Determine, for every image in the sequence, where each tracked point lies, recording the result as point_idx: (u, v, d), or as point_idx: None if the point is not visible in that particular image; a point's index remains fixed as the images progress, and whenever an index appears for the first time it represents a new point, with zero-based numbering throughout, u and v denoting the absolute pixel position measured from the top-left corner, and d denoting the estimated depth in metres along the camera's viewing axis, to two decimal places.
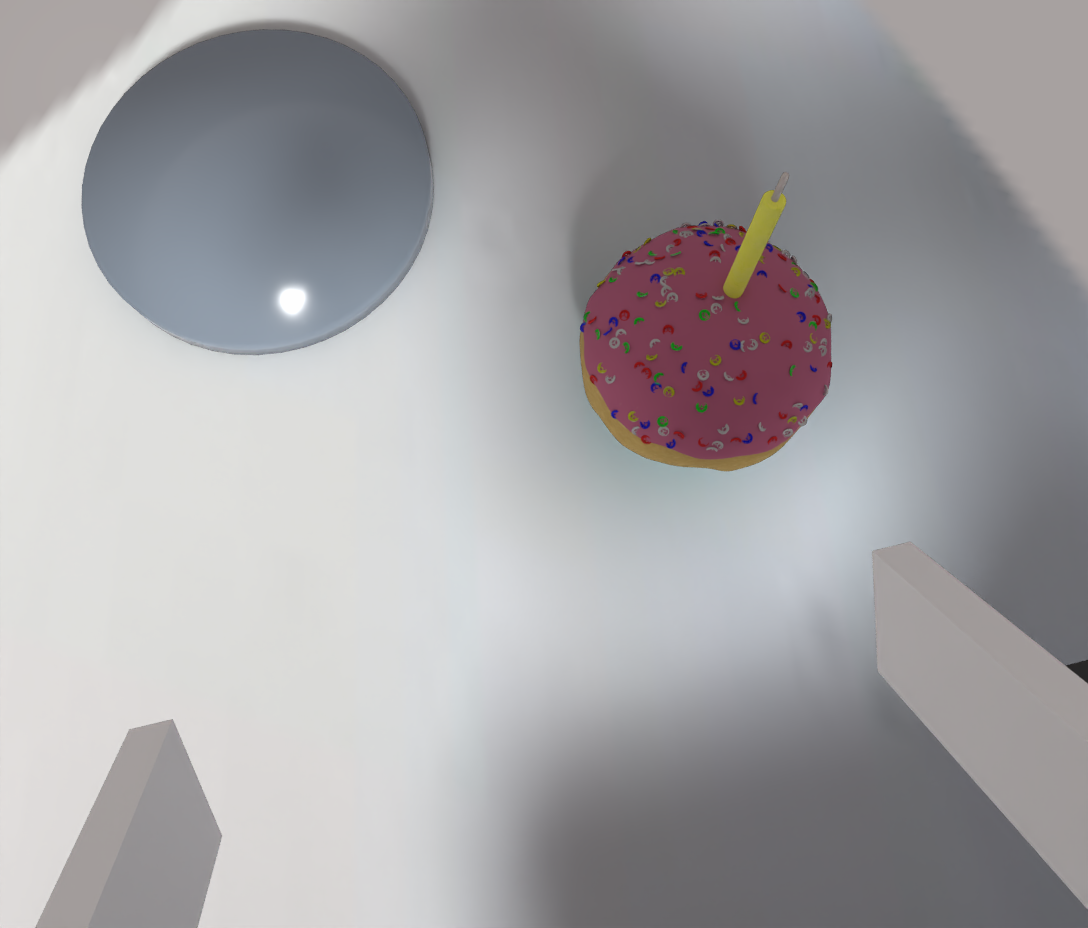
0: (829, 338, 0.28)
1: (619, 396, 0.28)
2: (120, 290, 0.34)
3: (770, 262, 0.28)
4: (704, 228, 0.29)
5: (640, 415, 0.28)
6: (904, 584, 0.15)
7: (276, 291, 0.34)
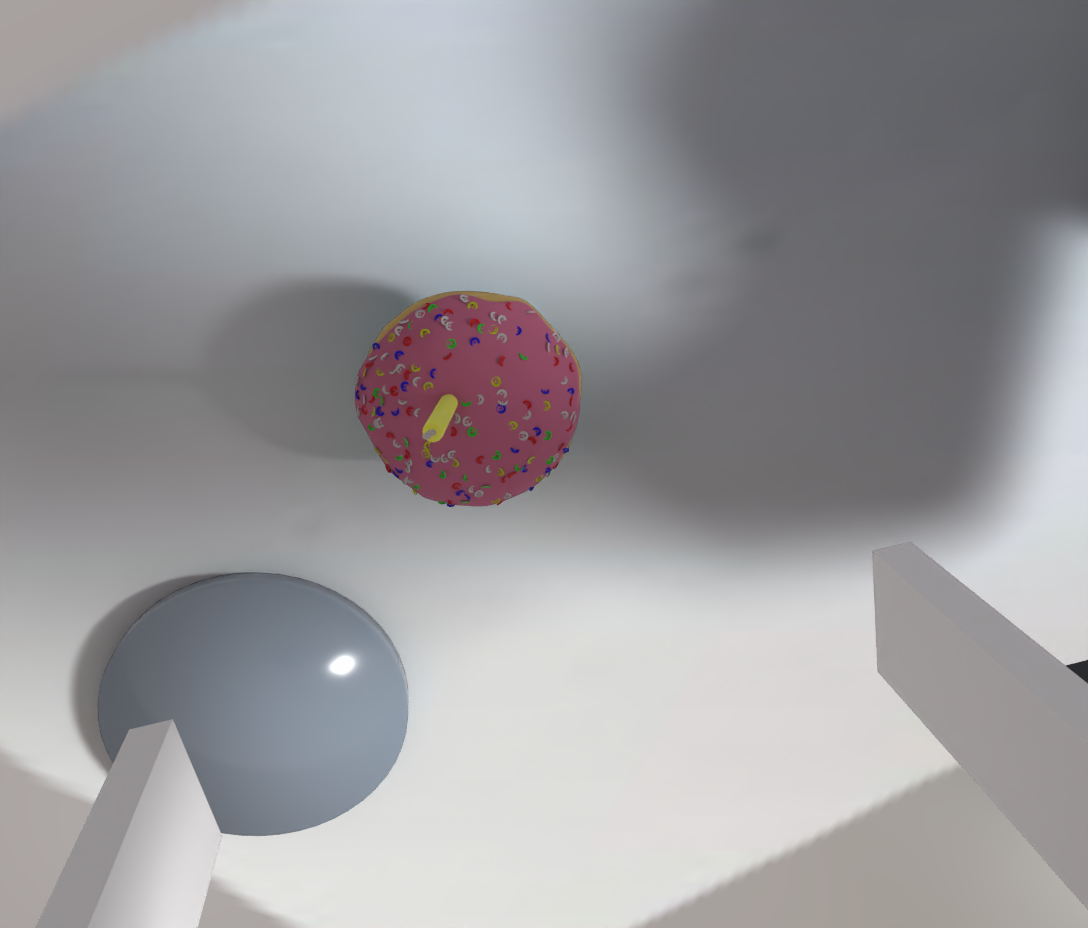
0: (485, 304, 0.31)
1: (521, 488, 0.33)
2: (355, 802, 0.43)
3: (419, 359, 0.30)
4: (370, 403, 0.32)
5: (540, 474, 0.33)
6: (904, 584, 0.15)
7: (363, 698, 0.41)
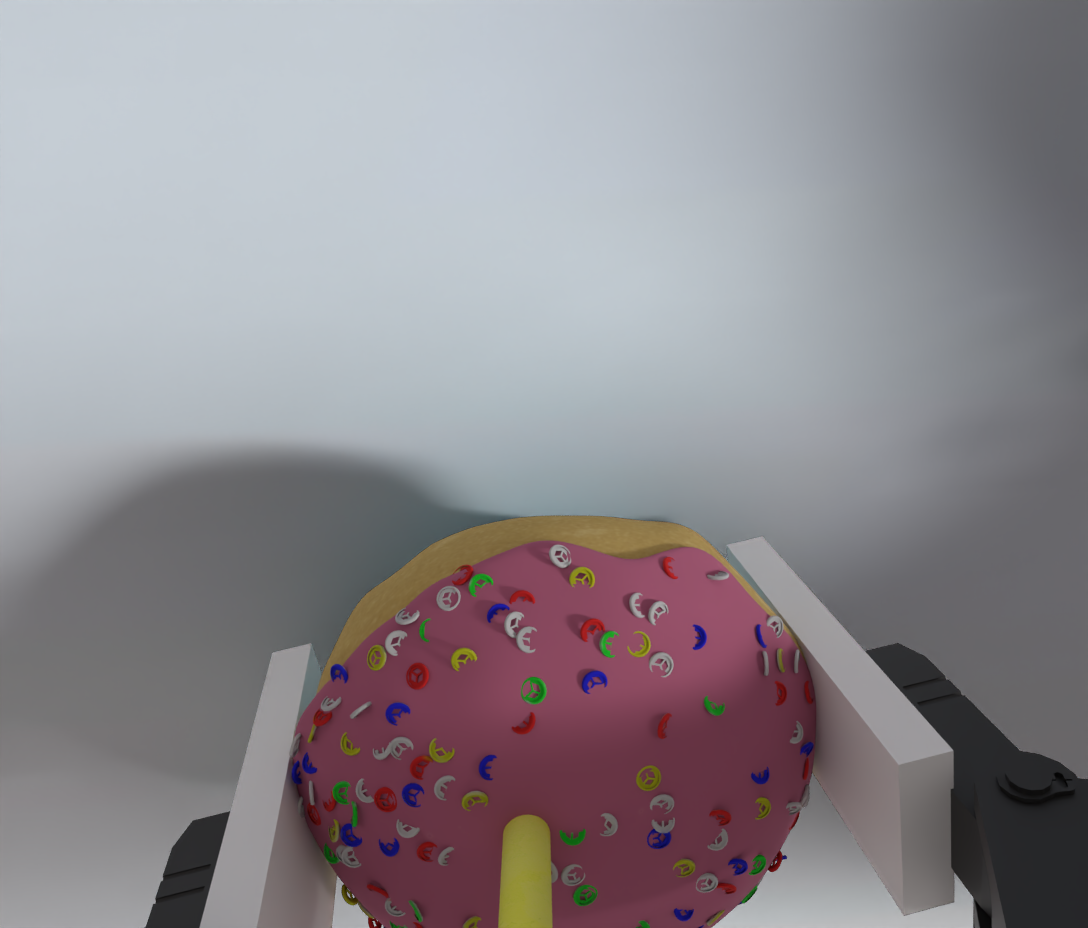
0: (614, 571, 0.12)
1: None
2: None
3: (448, 730, 0.12)
4: (328, 811, 0.13)
5: None
6: (747, 575, 0.16)
7: None
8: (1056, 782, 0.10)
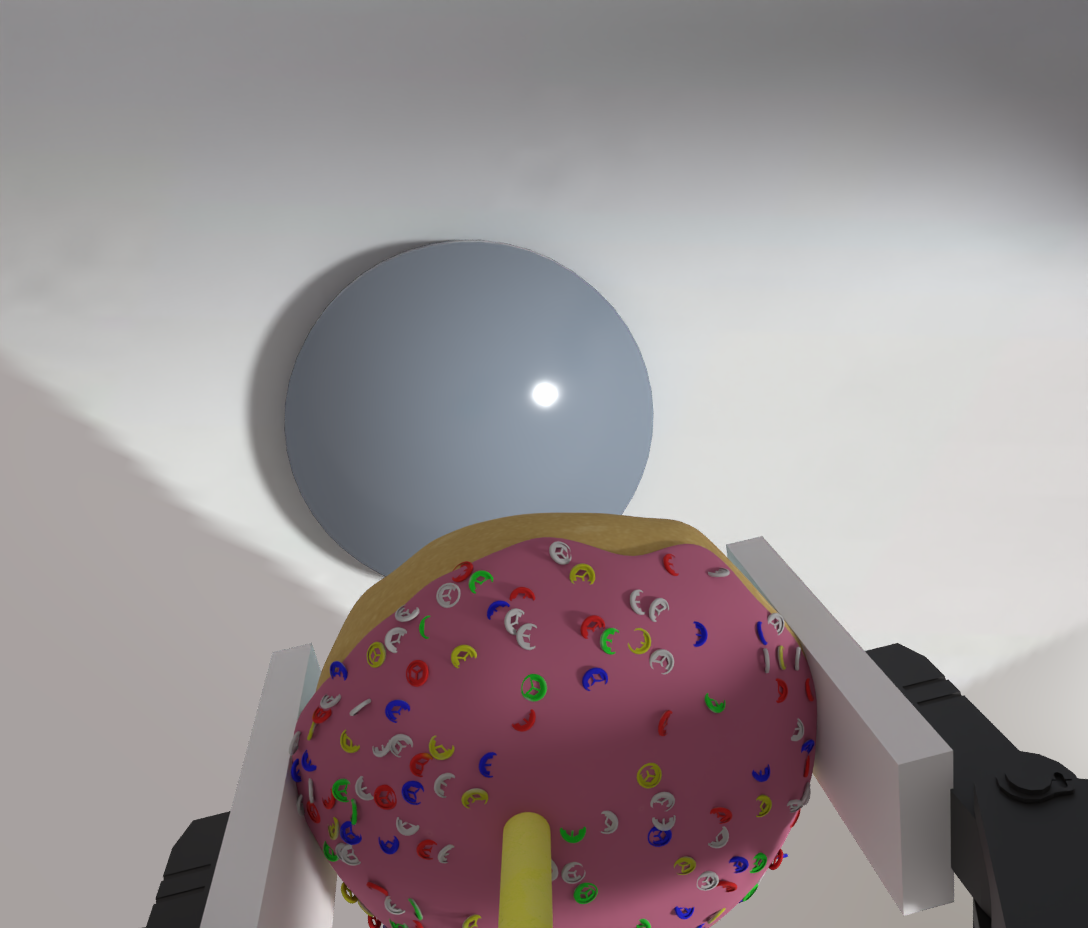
0: (615, 567, 0.12)
1: None
2: None
3: (449, 727, 0.12)
4: (328, 808, 0.13)
5: None
6: (746, 575, 0.16)
7: (601, 408, 0.33)
8: (1055, 782, 0.10)
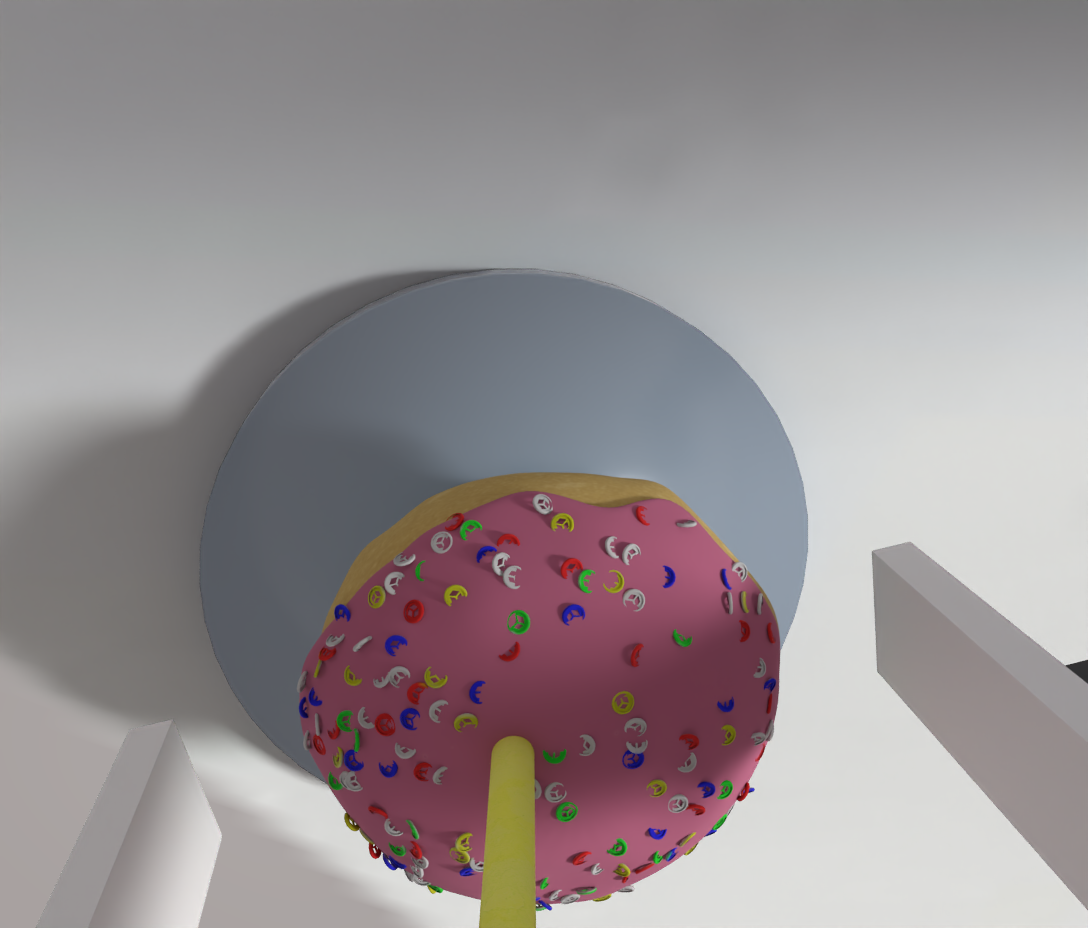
0: (592, 517, 0.14)
1: None
2: None
3: (442, 659, 0.13)
4: (332, 739, 0.14)
5: None
6: (903, 584, 0.15)
7: (726, 544, 0.20)
8: None
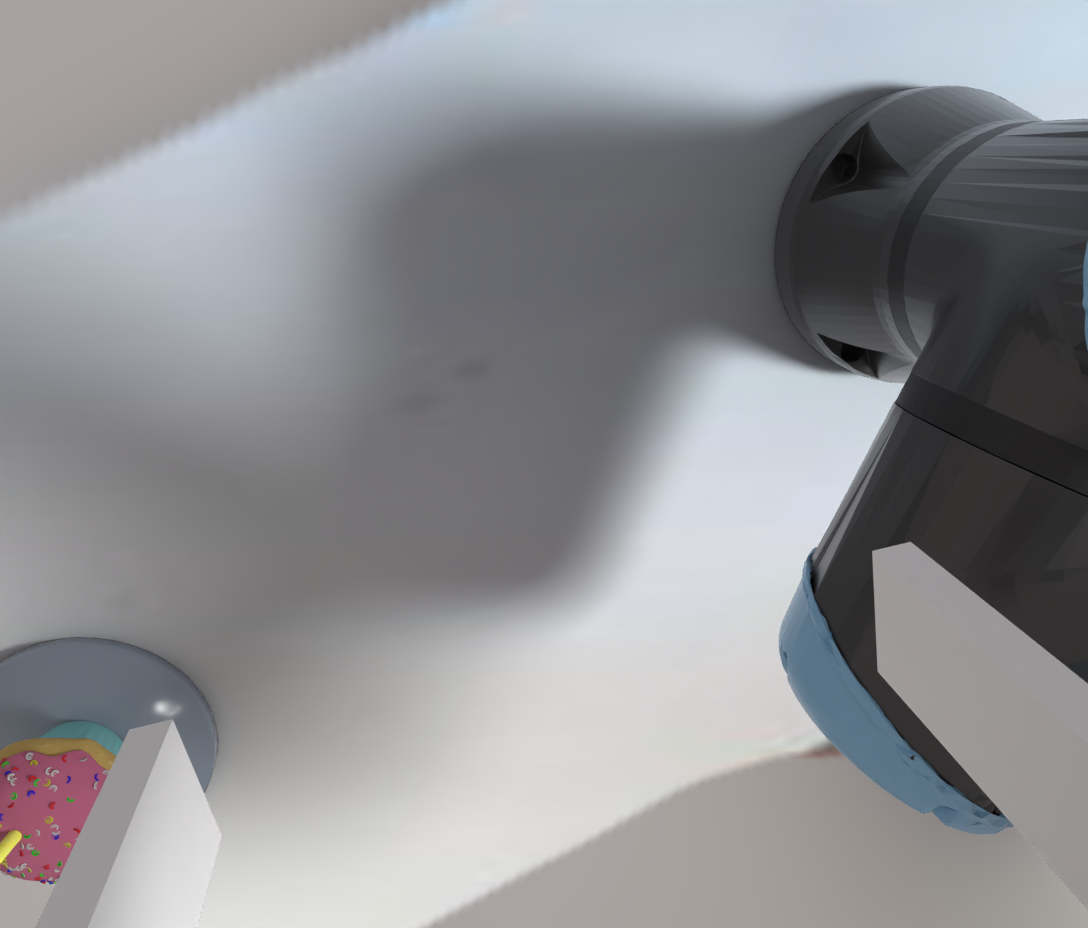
0: (44, 760, 0.43)
1: None
2: None
3: None
4: None
5: None
6: (904, 584, 0.15)
7: None
8: None
